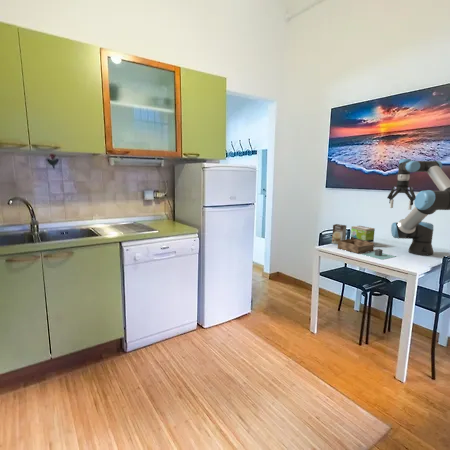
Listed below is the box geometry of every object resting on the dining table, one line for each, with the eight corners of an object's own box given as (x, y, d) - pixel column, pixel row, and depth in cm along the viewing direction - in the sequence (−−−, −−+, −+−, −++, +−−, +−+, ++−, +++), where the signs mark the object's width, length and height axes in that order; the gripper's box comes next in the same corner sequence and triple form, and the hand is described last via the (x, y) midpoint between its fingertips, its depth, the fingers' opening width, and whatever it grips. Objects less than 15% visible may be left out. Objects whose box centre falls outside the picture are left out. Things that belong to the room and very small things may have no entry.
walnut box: (373, 250, 214) (373, 242, 213) (357, 253, 206) (358, 245, 205) (352, 245, 230) (353, 238, 229) (337, 248, 221) (338, 240, 220)
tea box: (349, 243, 240) (351, 226, 238) (358, 242, 244) (359, 225, 242) (365, 247, 227) (366, 228, 224) (373, 245, 231) (375, 228, 228)
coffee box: (331, 243, 239) (332, 224, 237) (335, 242, 243) (336, 223, 241) (341, 245, 232) (343, 226, 230) (345, 244, 236) (346, 225, 234)
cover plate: (396, 257, 199) (396, 250, 198) (382, 260, 191) (382, 253, 190) (374, 252, 213) (375, 246, 212) (360, 255, 205) (361, 248, 204)
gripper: (383, 180, 219) (381, 207, 222) (418, 180, 198) (415, 210, 201) (389, 180, 223) (387, 207, 226) (424, 180, 201) (420, 210, 205)
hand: (400, 208), depth 214 cm, fingers open, 13 cm apart
